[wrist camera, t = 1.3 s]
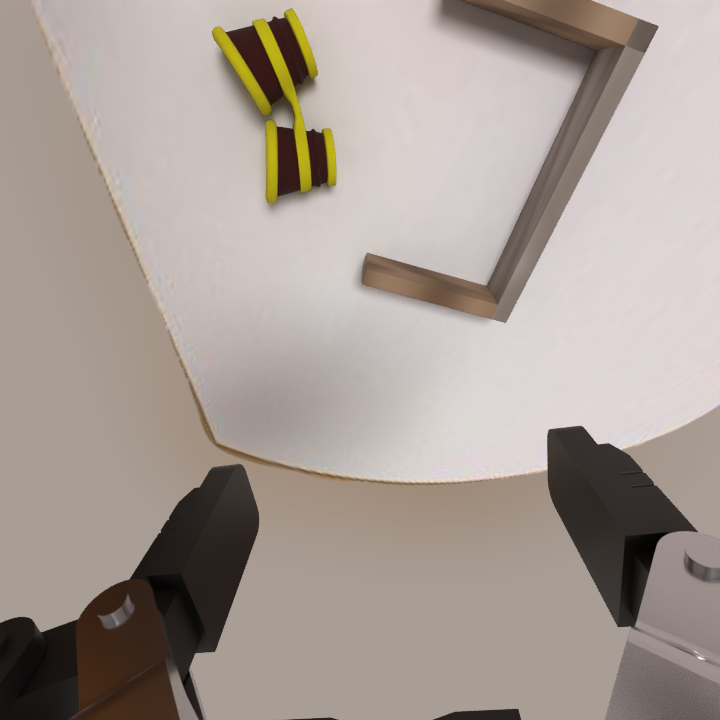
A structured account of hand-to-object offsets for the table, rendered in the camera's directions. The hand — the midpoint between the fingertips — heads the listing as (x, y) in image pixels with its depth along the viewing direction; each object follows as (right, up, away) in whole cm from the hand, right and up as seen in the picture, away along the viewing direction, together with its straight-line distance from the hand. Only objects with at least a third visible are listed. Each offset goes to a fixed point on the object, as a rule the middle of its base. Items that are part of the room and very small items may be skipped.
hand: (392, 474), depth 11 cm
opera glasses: (-6, +20, +17) cm, 27 cm away
